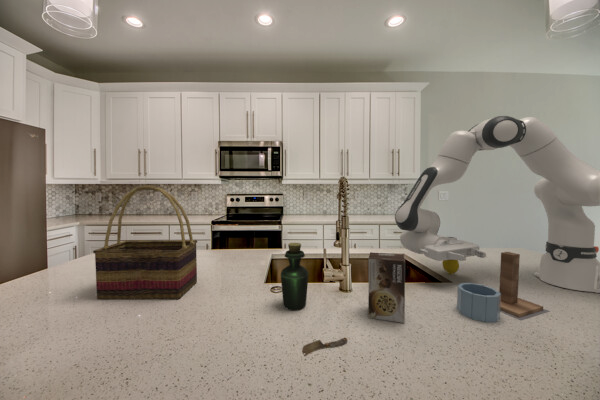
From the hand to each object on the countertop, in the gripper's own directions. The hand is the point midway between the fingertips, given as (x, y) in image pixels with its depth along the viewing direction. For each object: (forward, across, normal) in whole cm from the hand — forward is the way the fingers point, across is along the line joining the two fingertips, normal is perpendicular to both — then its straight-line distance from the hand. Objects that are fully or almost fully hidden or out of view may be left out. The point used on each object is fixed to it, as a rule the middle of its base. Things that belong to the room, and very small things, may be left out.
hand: (474, 256), depth 81 cm
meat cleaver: (+7, -58, +12) cm, 60 cm away
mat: (+10, 0, +12) cm, 15 cm away
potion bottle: (-13, -57, +12) cm, 60 cm away
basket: (-40, -98, +12) cm, 107 cm away
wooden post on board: (+10, 0, +11) cm, 15 cm away
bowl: (+10, -13, +12) cm, 20 cm away
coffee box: (+1, -36, +12) cm, 38 cm away
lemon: (-15, +9, +12) cm, 21 cm away
